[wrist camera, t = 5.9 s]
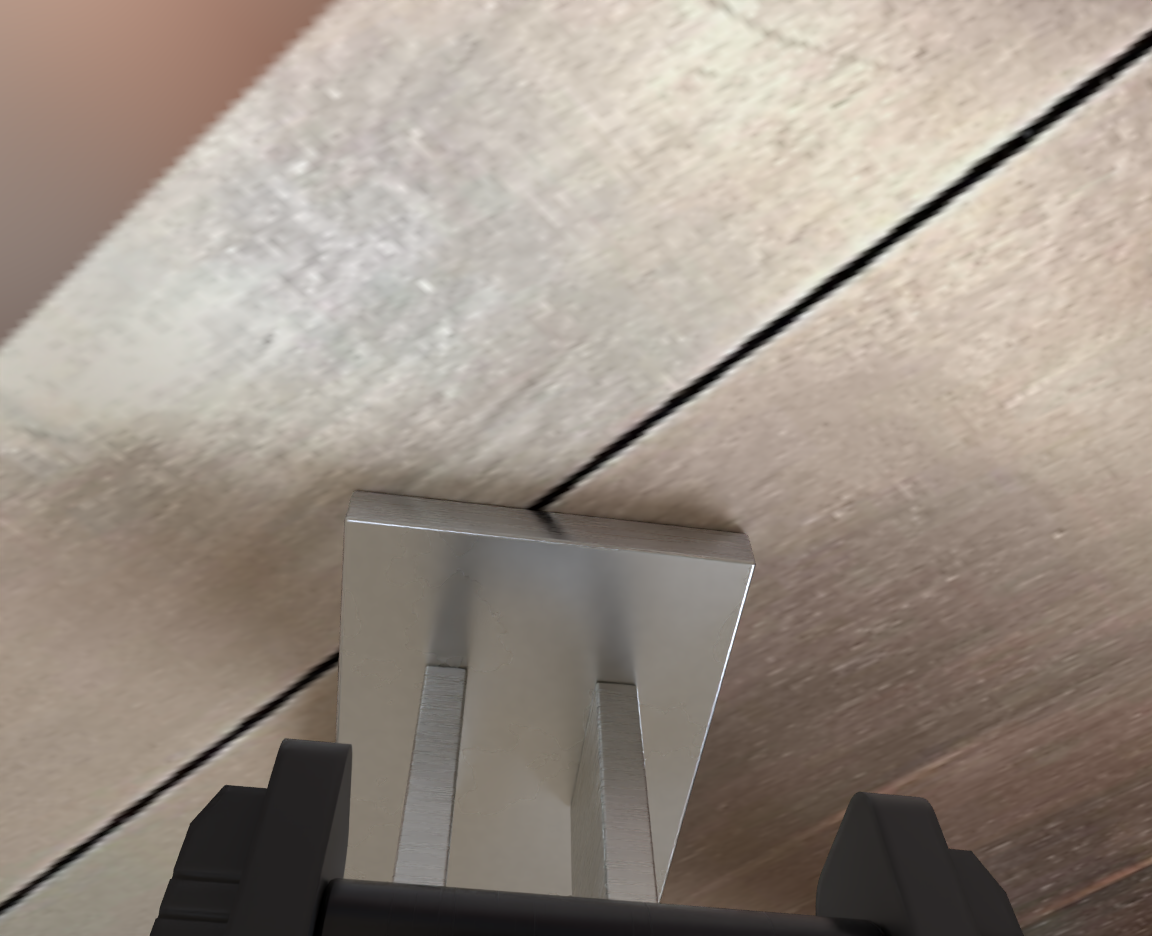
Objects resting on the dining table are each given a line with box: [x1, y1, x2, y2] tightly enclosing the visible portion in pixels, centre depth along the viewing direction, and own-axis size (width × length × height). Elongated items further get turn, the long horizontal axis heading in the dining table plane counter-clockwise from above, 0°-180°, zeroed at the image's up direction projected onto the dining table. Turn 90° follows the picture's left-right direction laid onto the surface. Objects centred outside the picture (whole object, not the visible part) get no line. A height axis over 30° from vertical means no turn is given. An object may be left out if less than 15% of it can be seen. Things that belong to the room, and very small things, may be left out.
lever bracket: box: [335, 491, 756, 903], centre depth 22 cm, size 12×9×13 cm
